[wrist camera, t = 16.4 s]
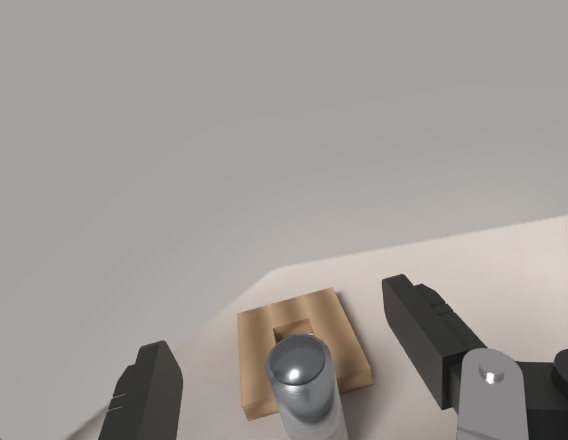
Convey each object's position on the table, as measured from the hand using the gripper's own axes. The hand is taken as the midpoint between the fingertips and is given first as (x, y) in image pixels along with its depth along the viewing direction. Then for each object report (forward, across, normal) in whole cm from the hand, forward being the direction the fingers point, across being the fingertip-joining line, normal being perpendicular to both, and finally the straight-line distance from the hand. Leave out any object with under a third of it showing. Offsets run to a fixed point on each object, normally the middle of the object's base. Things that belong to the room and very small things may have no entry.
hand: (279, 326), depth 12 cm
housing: (+25, 0, +30) cm, 39 cm away
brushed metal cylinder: (+11, 0, +30) cm, 32 cm away
